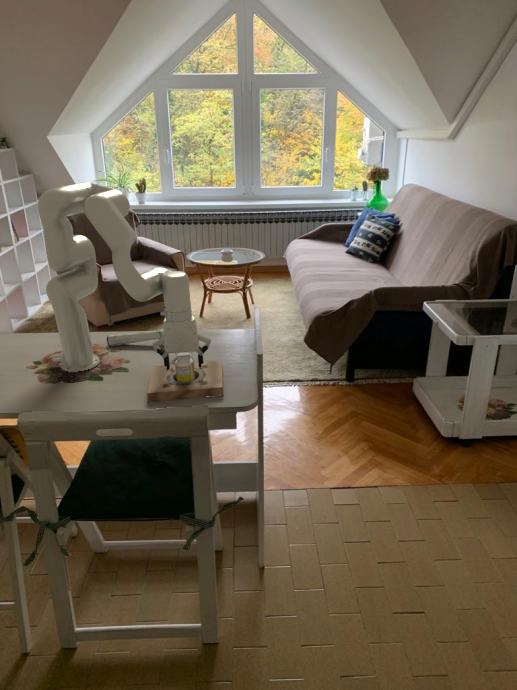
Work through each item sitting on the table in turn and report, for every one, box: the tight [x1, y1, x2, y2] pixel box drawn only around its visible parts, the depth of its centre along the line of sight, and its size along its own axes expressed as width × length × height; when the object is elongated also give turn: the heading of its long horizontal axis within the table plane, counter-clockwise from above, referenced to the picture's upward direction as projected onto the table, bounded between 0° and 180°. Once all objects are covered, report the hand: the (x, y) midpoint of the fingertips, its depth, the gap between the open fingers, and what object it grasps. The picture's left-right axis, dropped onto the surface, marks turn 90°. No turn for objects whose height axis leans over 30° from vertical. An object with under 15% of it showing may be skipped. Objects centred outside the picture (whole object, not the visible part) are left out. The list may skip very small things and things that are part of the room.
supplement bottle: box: [174, 352, 196, 382], centre depth 167 cm, size 6×6×10 cm
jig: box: [146, 360, 224, 403], centre depth 168 cm, size 22×18×3 cm
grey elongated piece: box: [106, 328, 164, 347], centre depth 199 cm, size 5×7×25 cm
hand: (184, 366), depth 167 cm, fingers open, 9 cm apart
